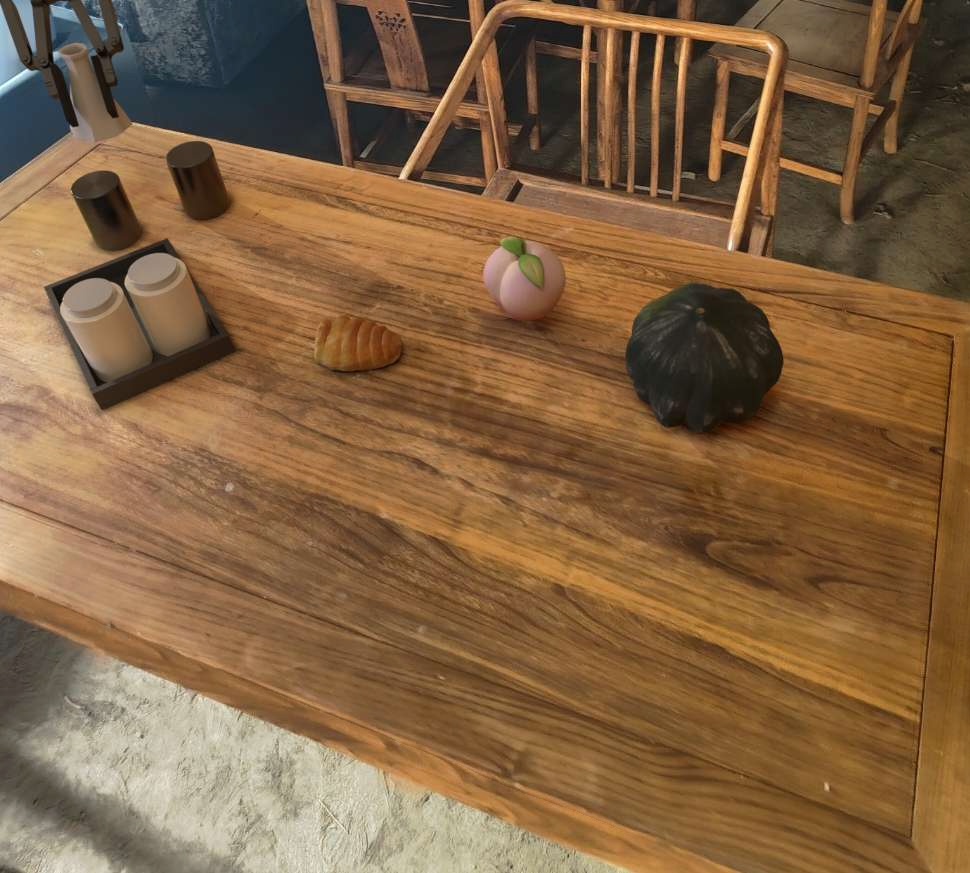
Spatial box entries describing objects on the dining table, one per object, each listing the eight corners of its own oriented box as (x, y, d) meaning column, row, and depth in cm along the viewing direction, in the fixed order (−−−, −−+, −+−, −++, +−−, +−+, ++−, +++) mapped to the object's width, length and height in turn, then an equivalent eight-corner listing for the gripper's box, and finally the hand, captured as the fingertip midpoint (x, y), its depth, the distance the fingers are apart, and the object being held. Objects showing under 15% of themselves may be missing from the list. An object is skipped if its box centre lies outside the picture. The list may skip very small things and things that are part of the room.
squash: (741, 283, 97) (671, 228, 86) (834, 375, 89) (769, 328, 78) (648, 379, 102) (570, 339, 91) (727, 476, 94) (651, 444, 83)
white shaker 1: (87, 357, 105) (49, 289, 98) (142, 333, 107) (109, 265, 99) (103, 392, 101) (64, 324, 94) (160, 367, 103) (127, 298, 96)
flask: (93, 150, 111) (63, 70, 103) (60, 131, 114) (27, 52, 107) (144, 125, 114) (117, 46, 107) (110, 107, 118) (82, 29, 110)
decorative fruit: (582, 319, 104) (583, 247, 96) (523, 352, 101) (519, 280, 94) (532, 277, 109) (529, 206, 102) (475, 307, 106) (467, 236, 99)
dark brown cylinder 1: (90, 233, 122) (64, 181, 116) (134, 216, 123) (111, 164, 117) (103, 257, 118) (77, 204, 112) (148, 239, 120) (125, 186, 114)
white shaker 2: (146, 332, 107) (113, 264, 100) (200, 309, 109) (171, 241, 101) (164, 365, 103) (131, 297, 96) (219, 341, 105) (191, 272, 98)
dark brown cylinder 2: (179, 204, 125) (159, 151, 118) (221, 188, 126) (203, 135, 120) (194, 225, 121) (174, 173, 115) (237, 209, 123) (219, 156, 117)
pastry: (408, 334, 104) (403, 309, 101) (396, 378, 100) (390, 353, 97) (328, 331, 106) (321, 305, 103) (312, 373, 101) (304, 348, 99)
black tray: (52, 303, 113) (43, 286, 111) (174, 254, 117) (167, 237, 115) (101, 410, 100) (92, 394, 98) (235, 351, 105) (229, 334, 103)
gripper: (-59, -84, 102) (8, 126, 104) (98, -113, 105) (159, 92, 107) (-32, -51, 110) (29, 144, 112) (113, -80, 112) (170, 112, 114)
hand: (92, 118), depth 109 cm, fingers closed on flask, 4 cm apart
